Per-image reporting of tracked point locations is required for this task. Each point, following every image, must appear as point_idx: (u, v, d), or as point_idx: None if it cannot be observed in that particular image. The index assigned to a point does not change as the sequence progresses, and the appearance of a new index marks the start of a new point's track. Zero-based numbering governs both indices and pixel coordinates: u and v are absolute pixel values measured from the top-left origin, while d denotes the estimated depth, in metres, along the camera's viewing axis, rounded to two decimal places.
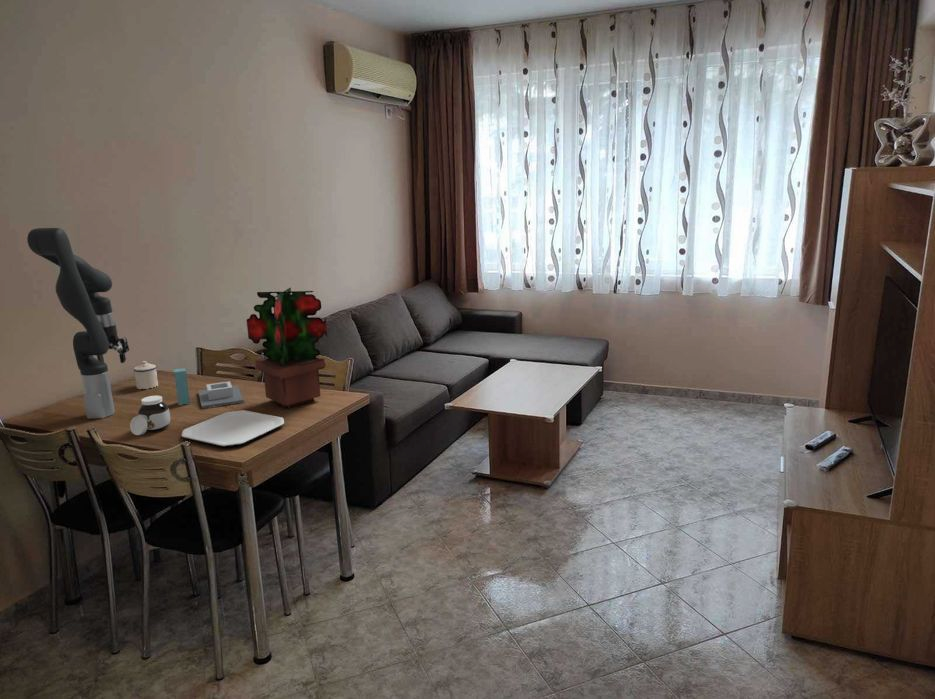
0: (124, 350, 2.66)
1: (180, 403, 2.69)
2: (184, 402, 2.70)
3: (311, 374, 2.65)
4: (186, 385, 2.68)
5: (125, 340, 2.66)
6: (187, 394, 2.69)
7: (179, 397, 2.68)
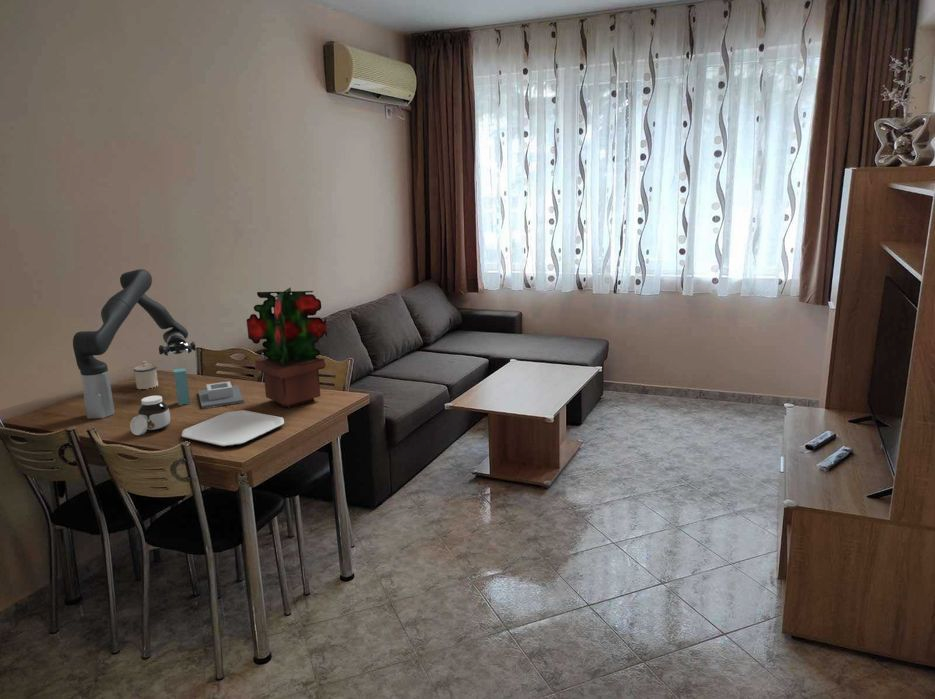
0: (193, 344, 2.84)
1: (180, 403, 2.69)
2: (184, 402, 2.70)
3: (311, 374, 2.65)
4: (186, 385, 2.68)
5: None
6: (187, 394, 2.69)
7: (179, 397, 2.68)
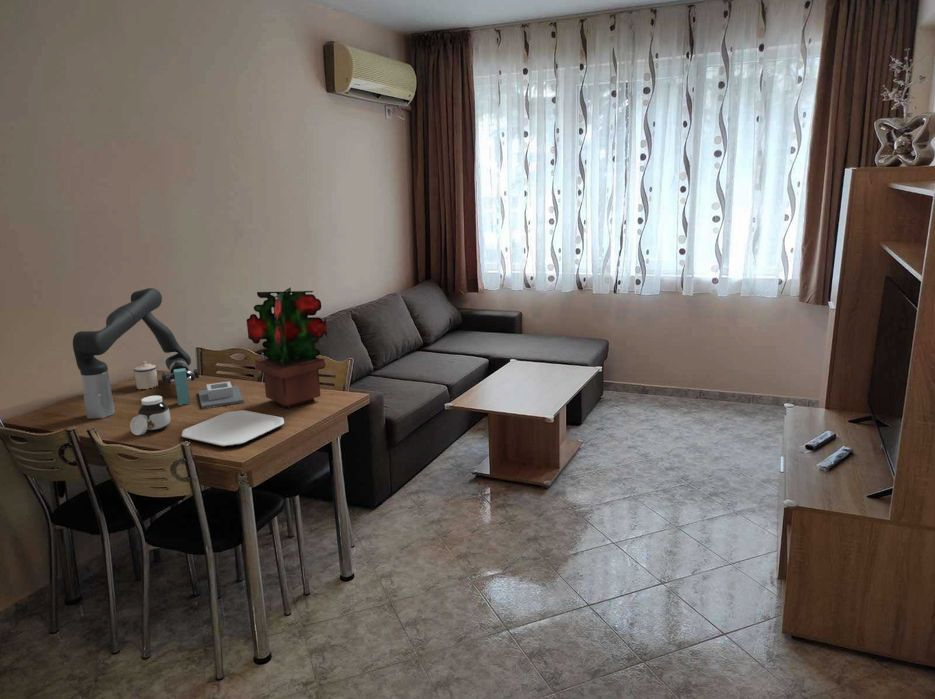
0: (196, 371, 2.82)
1: (180, 403, 2.69)
2: (184, 402, 2.70)
3: (311, 374, 2.65)
4: (186, 385, 2.68)
5: None
6: (187, 394, 2.69)
7: (179, 397, 2.68)
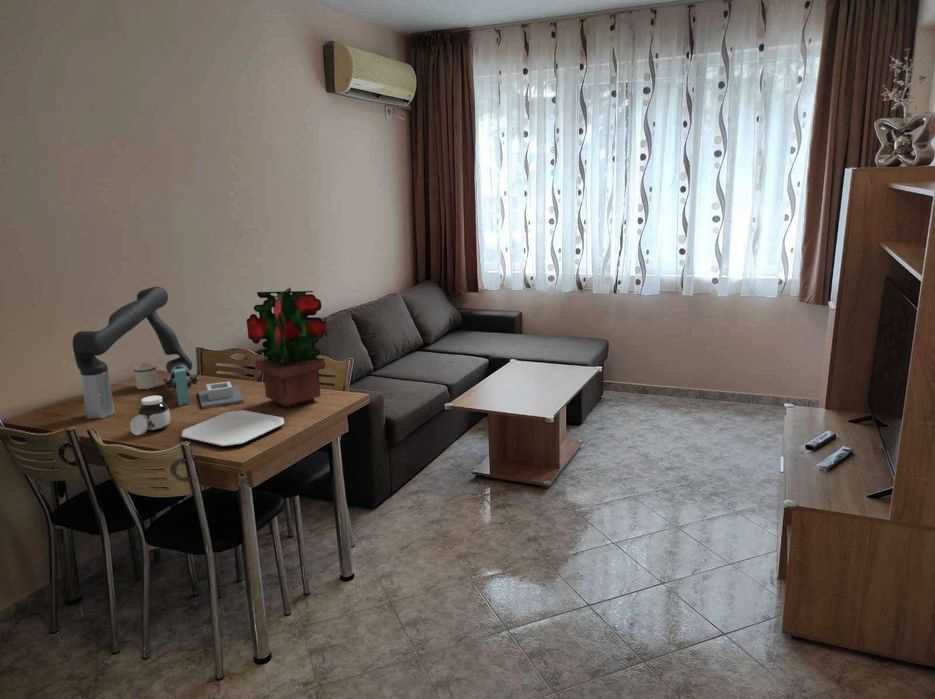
0: (193, 378, 2.74)
1: (180, 403, 2.69)
2: (184, 402, 2.70)
3: (311, 374, 2.65)
4: (186, 385, 2.68)
5: (198, 378, 2.78)
6: (187, 394, 2.69)
7: (179, 397, 2.68)
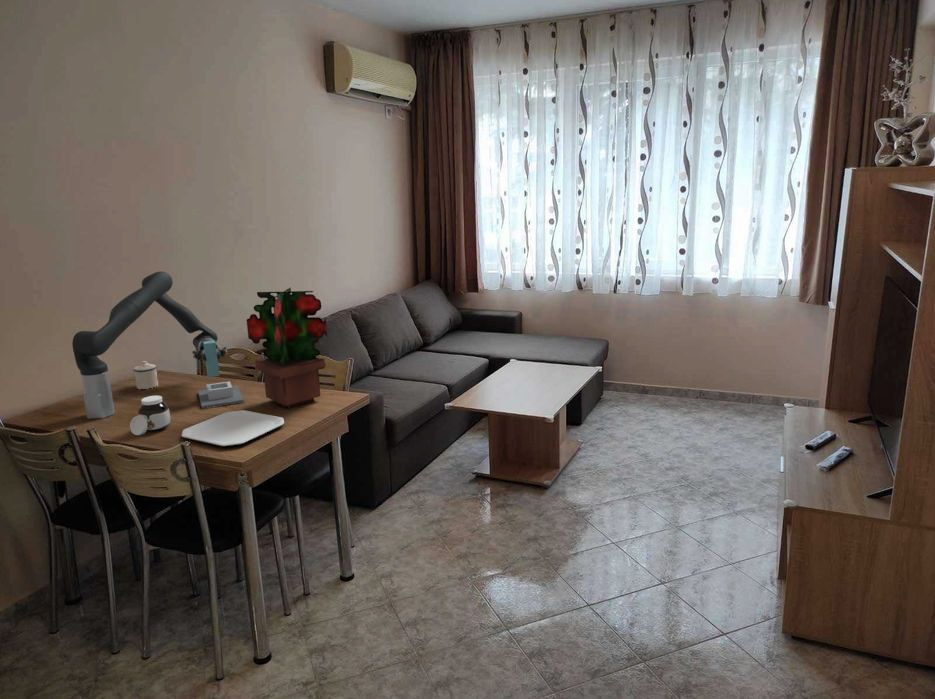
0: (222, 350, 2.76)
1: (209, 375, 2.72)
2: (213, 374, 2.72)
3: (311, 374, 2.65)
4: (216, 357, 2.71)
5: (226, 351, 2.80)
6: (217, 366, 2.72)
7: (209, 369, 2.71)
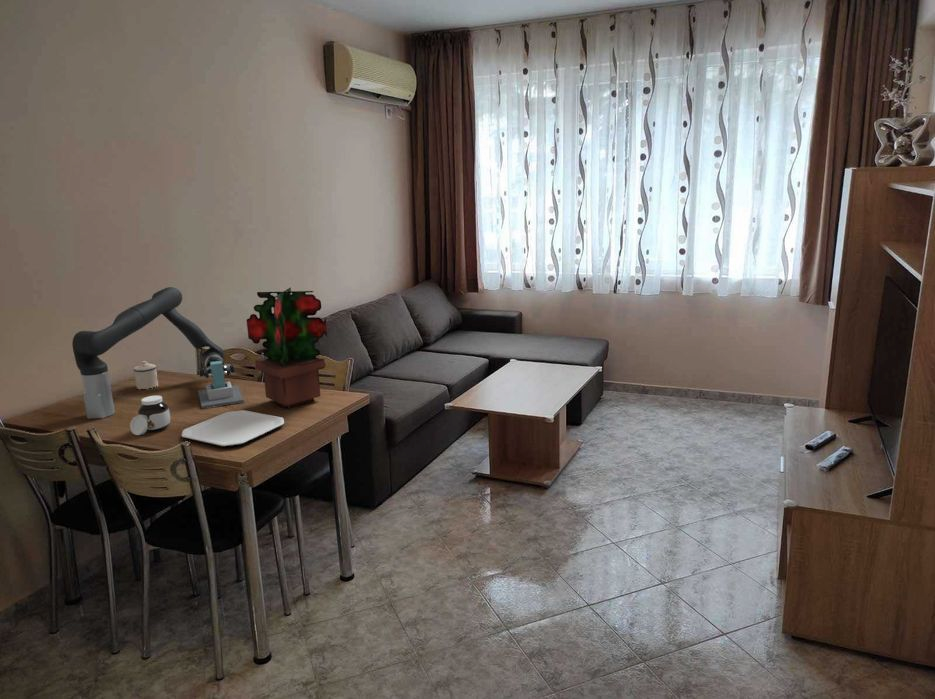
0: (232, 366, 2.80)
1: None
2: None
3: (311, 374, 2.65)
4: (222, 377, 2.74)
5: None
6: (224, 386, 2.75)
7: None
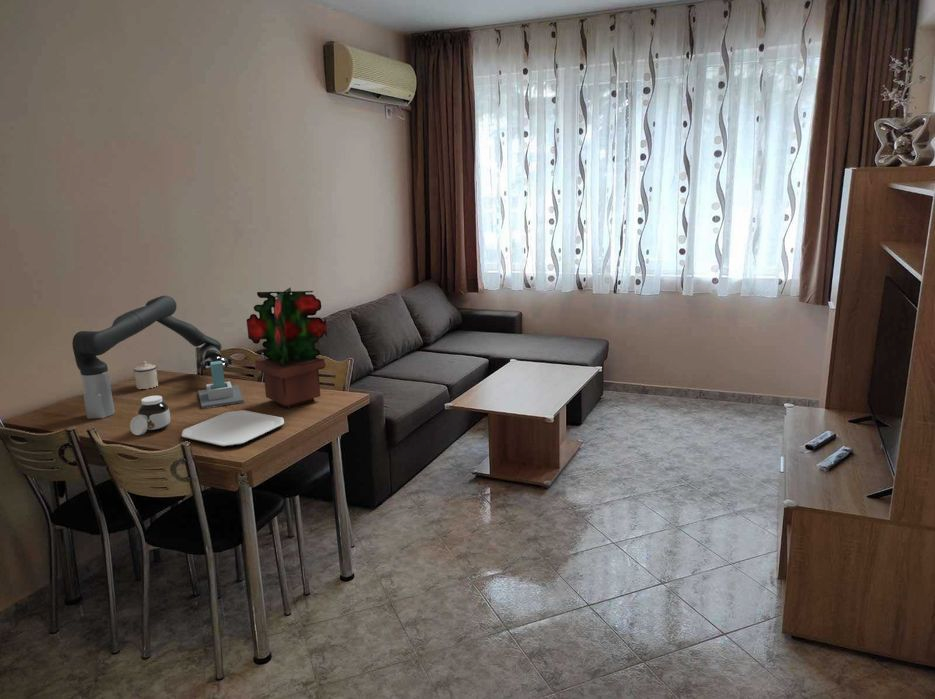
0: (229, 358, 2.91)
1: None
2: None
3: (311, 374, 2.65)
4: (222, 377, 2.74)
5: None
6: (224, 386, 2.75)
7: None
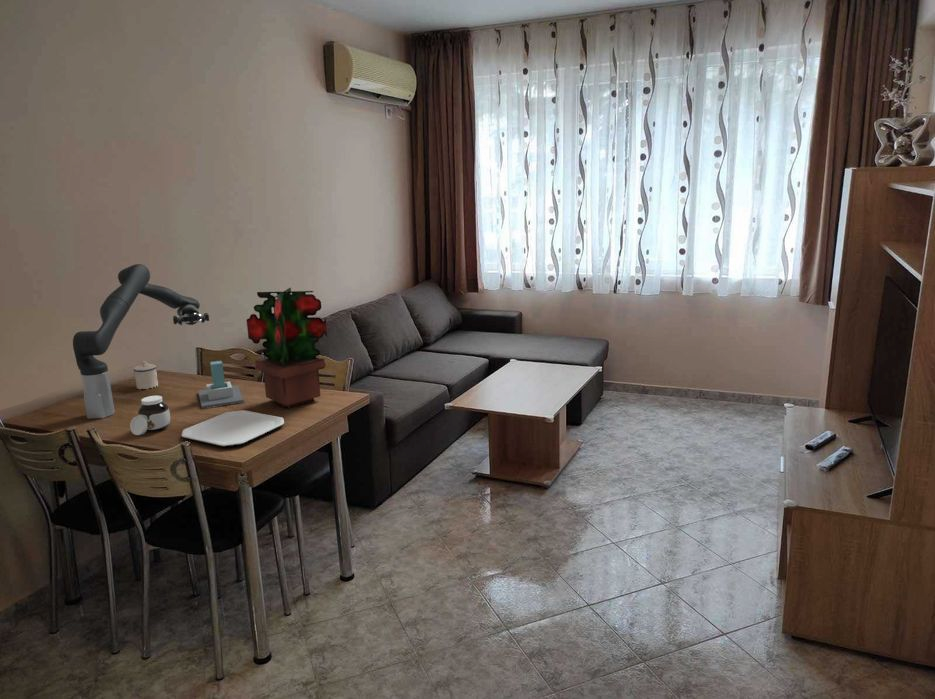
0: (206, 314, 2.89)
1: None
2: None
3: (311, 374, 2.65)
4: (222, 377, 2.74)
5: None
6: (224, 386, 2.75)
7: None
